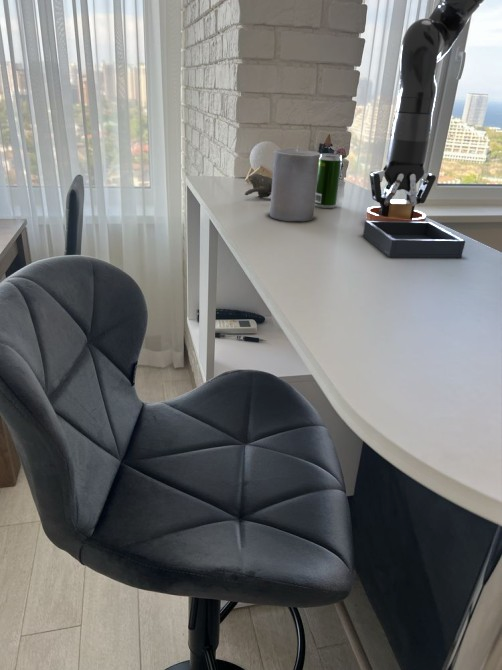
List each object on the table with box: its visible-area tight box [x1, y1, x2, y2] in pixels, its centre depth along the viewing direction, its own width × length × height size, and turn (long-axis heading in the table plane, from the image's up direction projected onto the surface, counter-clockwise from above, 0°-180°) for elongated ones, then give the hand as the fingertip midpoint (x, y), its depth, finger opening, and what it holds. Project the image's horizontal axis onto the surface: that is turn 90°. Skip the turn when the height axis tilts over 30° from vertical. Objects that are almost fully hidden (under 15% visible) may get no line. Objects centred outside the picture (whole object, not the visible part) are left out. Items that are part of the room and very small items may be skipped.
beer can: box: [315, 152, 343, 209], centre depth 121 cm, size 5×5×12 cm
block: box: [388, 198, 413, 219], centre depth 107 cm, size 4×4×4 cm
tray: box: [362, 220, 466, 259], centre depth 94 cm, size 14×14×3 cm
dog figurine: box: [244, 173, 273, 198], centre depth 127 cm, size 12×6×7 cm, turn 91°
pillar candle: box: [269, 144, 321, 222], centre depth 108 cm, size 10×10×15 cm
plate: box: [364, 205, 427, 222], centre depth 108 cm, size 12×12×3 cm
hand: (394, 222), depth 108 cm, fingers closed on block, 4 cm apart
